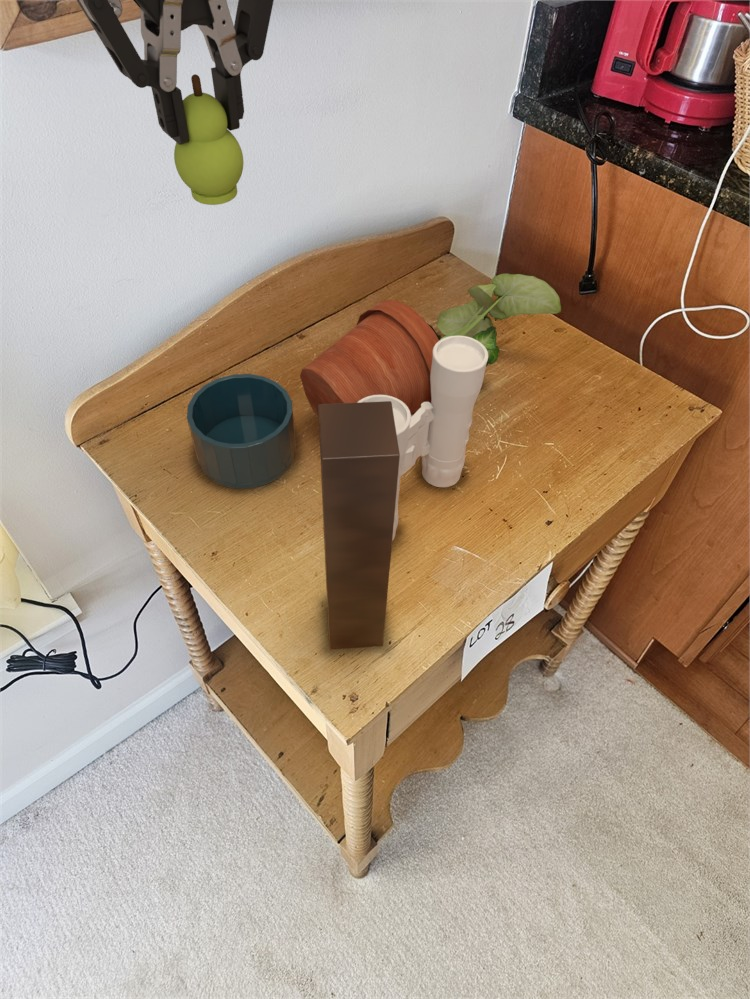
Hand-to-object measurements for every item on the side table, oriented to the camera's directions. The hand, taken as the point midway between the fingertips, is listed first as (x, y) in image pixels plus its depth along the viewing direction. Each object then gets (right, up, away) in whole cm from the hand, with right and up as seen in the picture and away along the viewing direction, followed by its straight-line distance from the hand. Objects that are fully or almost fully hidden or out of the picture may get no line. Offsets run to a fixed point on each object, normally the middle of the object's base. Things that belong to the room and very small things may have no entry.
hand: (204, 131), depth 52 cm
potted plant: (+20, -12, +40) cm, 46 cm away
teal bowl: (-3, -22, +31) cm, 38 cm away
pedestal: (+11, -40, +18) cm, 45 cm away
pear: (0, -3, +4) cm, 5 cm away
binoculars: (+17, -28, +28) cm, 43 cm away
